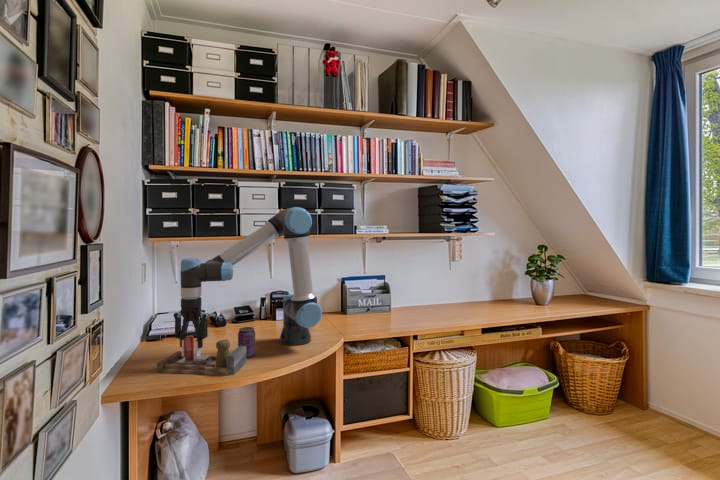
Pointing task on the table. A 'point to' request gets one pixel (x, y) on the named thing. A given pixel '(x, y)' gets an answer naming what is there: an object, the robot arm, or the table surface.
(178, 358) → the base
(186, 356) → the ram
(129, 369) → the table surface
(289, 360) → the table surface
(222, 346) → the cork
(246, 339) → the beverage can
